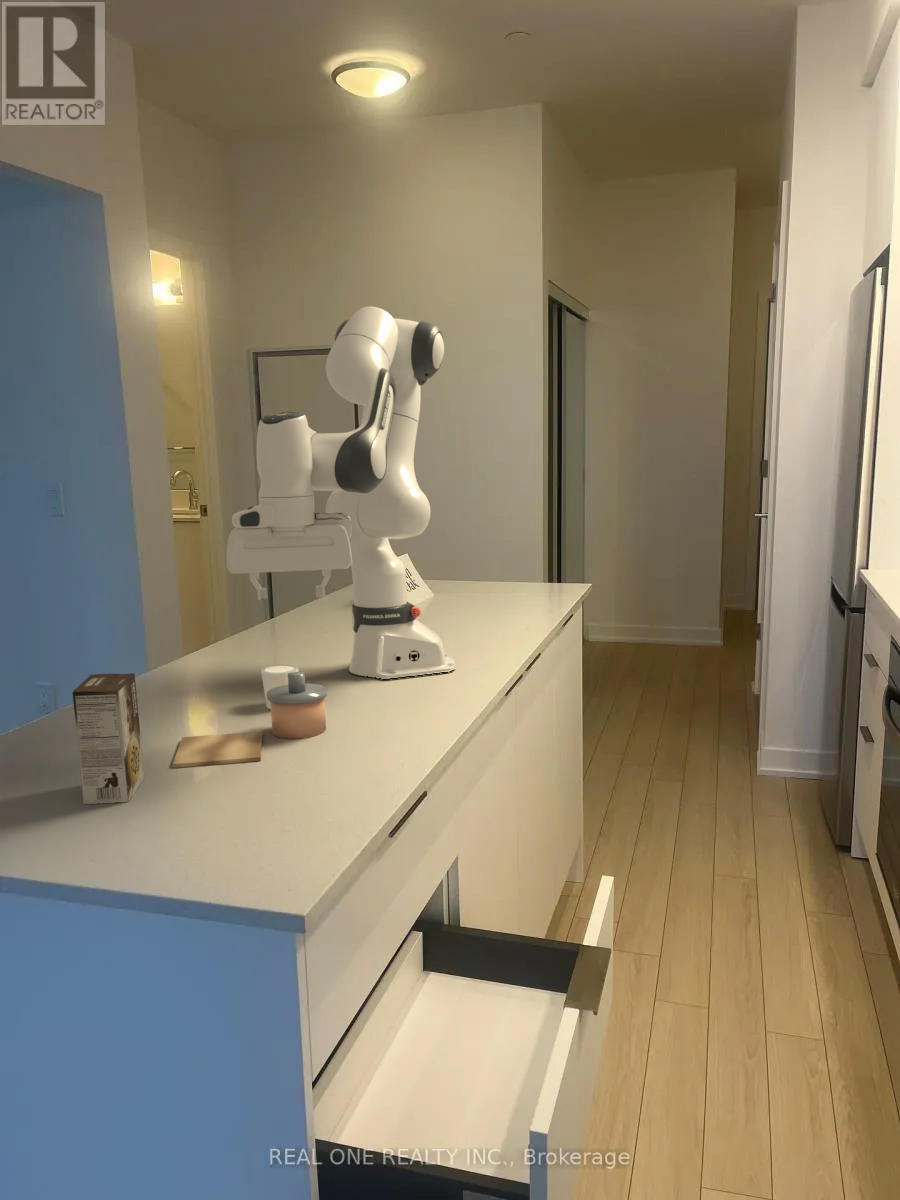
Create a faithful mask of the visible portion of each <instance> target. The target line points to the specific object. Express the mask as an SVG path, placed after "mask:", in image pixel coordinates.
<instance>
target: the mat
mask: <svg viewBox="0 0 900 1200" xmlns="http://www.w3.org/2000/svg"><path fill="white" fill-rule="evenodd" d="M263 733H264V732H263V730H262V731H261V730H260V731H250V732H235V733H224V734H223V733H222V734H209V735H196V736H183V737H181V740H180V742H179V745H178V748H177V750H176V753H175V755H174V758H173V761H172V768H187V767H201V766H212V765H223V764H225V765H226V764H227V765H228V764H237V763H250V762H251V763H252V762H261V759H262V751H263V750H262V748H263V736H264V734H263Z"/></svg>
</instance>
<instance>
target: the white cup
mask: <svg viewBox="0 0 900 1200" xmlns="http://www.w3.org/2000/svg"><path fill="white" fill-rule="evenodd" d="M260 672H261V673H260V674H261V678H262V679H261V680H262V685H263V691H264V699H265V706H266V708H267V709H269V710H271V705H270V701H269V700H268V699H267V692H268V691H269V690H270V689H273V688H275V687H279V686H283V685H288V673H291V672H300V671H299V666H296V665H292V664H279V665H278V664H277V665H270V666H266V667H263V668H262V669H260Z"/></svg>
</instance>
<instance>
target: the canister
mask: <svg viewBox="0 0 900 1200" xmlns="http://www.w3.org/2000/svg"><path fill="white" fill-rule="evenodd" d="M325 699H326V697H325V698H323V699H321V700H318V701H314V702H310V703H303V704H278V703H273V702H270V705H271V709H270V718H271V719H270V720H271V733H272V735H273V736H275V737H277V738H281V739H289V740H290V739H291V740H296V739H298V740H299V739H306V738H307V739H308V738H311V737H315V736H319V735H321V734H323V733H324V732H325V731H326V730H327V725H326V724H327V722H326V718H327V717H326V704H325V703H326V701H325Z"/></svg>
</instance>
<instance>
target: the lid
mask: <svg viewBox="0 0 900 1200" xmlns="http://www.w3.org/2000/svg"><path fill="white" fill-rule="evenodd" d="M327 696H328V687H326V686H324V685H322V684H317V683H308V682H307V683H306V676H305V672H304V671H298V672H291V673H288V685H283V686H279V687H275V688H273V689H270V690H269V691H268V692H267V699H268V700H269V701H270V702H273V703H278V704H303V703H310V702H314V701H318V700H321V699H323V698H325V699H326V697H327Z"/></svg>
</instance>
